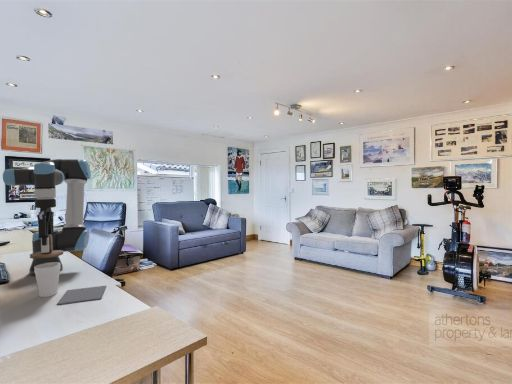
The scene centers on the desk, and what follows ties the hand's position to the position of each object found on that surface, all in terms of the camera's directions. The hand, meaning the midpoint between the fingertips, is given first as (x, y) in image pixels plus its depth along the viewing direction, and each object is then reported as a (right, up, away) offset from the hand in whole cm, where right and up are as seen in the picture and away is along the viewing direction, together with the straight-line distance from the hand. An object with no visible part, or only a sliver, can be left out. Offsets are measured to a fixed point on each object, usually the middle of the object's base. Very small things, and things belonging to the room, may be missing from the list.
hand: (46, 251), depth 127 cm
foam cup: (0, -19, +1) cm, 19 cm away
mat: (+17, -19, -1) cm, 25 cm away
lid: (0, -2, 0) cm, 2 cm away
